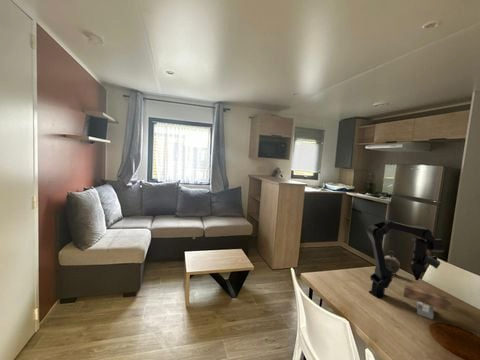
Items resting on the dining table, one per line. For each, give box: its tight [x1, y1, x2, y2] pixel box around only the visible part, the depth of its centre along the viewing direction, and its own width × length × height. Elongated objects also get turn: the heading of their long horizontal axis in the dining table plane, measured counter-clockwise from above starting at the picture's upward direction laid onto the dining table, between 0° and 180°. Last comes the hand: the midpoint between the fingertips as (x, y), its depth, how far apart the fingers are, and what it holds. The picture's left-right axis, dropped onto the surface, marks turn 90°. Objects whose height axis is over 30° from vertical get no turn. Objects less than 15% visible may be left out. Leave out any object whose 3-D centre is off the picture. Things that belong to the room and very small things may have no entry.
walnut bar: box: [403, 284, 453, 312], centre depth 112 cm, size 18×4×5 cm, turn 55°
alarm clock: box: [384, 250, 401, 276], centre depth 151 cm, size 11×5×16 cm, turn 46°
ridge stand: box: [416, 301, 435, 320], centre depth 112 cm, size 6×10×5 cm, turn 141°
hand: (417, 277), depth 123 cm, fingers open, 9 cm apart
